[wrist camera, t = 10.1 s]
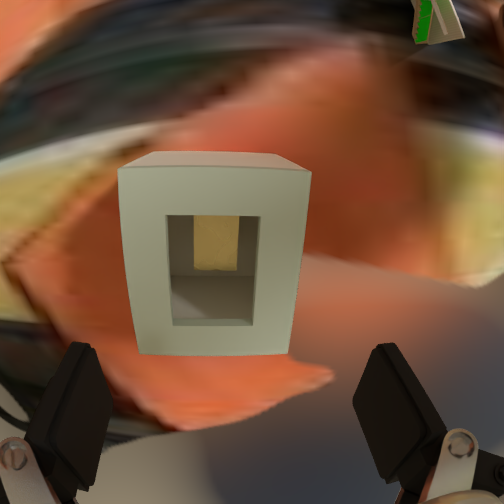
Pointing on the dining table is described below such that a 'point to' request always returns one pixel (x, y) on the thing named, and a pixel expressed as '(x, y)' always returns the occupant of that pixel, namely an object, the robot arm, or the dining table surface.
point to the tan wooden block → (215, 242)
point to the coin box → (212, 281)
